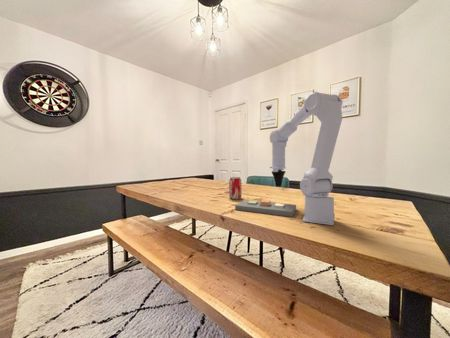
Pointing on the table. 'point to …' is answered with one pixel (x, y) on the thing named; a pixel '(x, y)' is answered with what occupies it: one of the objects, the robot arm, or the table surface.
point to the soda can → (235, 188)
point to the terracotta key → (265, 203)
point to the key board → (267, 208)
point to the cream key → (279, 205)
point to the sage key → (252, 202)
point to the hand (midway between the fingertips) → (278, 186)
